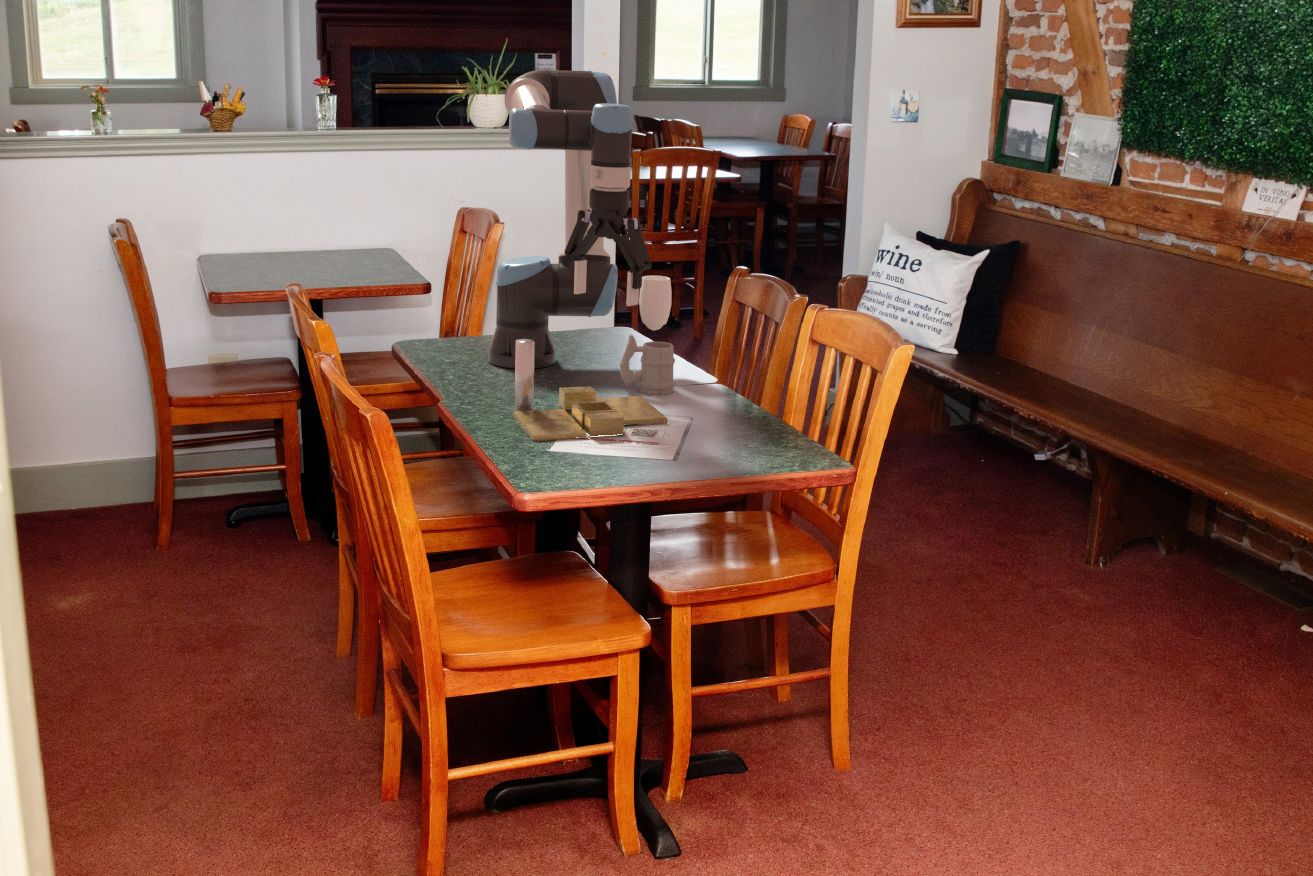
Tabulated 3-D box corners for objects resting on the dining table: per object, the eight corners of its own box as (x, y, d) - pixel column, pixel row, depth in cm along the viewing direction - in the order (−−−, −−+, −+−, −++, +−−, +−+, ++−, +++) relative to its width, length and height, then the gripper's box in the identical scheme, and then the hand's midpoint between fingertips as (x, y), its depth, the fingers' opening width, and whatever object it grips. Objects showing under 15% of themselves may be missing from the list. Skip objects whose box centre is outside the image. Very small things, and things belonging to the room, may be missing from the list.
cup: (670, 367, 281) (675, 276, 275) (665, 374, 274) (669, 281, 268) (639, 364, 282) (643, 274, 276) (633, 371, 275) (637, 279, 269)
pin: (512, 409, 242) (513, 339, 238) (530, 408, 243) (532, 338, 239) (517, 414, 239) (518, 343, 234) (535, 413, 240) (536, 342, 236)
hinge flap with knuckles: (558, 404, 246) (559, 387, 245) (640, 400, 252) (641, 384, 251) (580, 427, 232) (581, 409, 231) (666, 422, 237) (667, 405, 236)
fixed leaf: (512, 416, 237) (513, 398, 236) (599, 412, 243) (600, 394, 242) (532, 441, 223) (533, 422, 222) (624, 435, 228) (625, 417, 227)
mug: (678, 395, 258) (681, 338, 254) (622, 395, 255) (624, 339, 252) (670, 385, 265) (672, 330, 262) (615, 386, 262) (617, 330, 259)
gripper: (548, 182, 239) (545, 290, 245) (647, 197, 224) (642, 312, 230) (574, 179, 244) (571, 286, 251) (673, 194, 229) (667, 307, 236)
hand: (605, 299), depth 241 cm, fingers open, 13 cm apart
